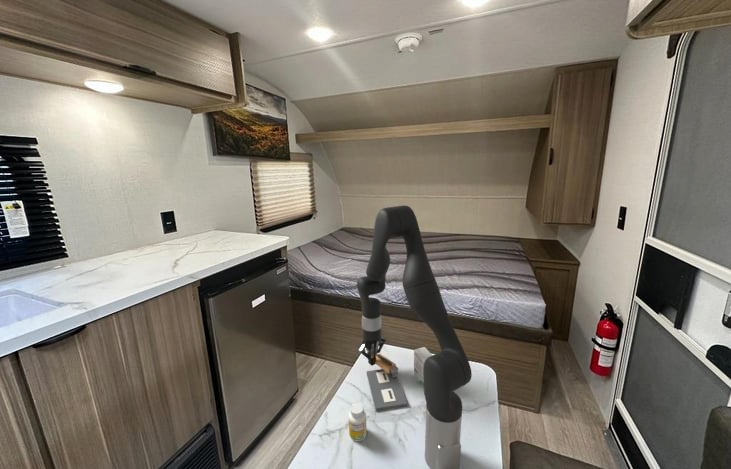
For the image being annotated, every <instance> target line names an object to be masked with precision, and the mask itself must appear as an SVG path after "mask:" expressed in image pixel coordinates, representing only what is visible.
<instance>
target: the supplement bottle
mask: <svg viewBox="0 0 731 469" xmlns="http://www.w3.org/2000/svg"><path fill="white" fill-rule="evenodd" d="M347 417H348V418H347V419H348V430H349V432H348V434H349V438H350V439H351V440H353V441H354V442H362V441H363V440H365V439H366V437H367V430H368V428H367V413H366V411H365V410H364V405H363V404H362V403H360V402H355V403H352V405H350V411H349V413H348V416H347Z"/></svg>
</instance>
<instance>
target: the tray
mask: <svg viewBox="0 0 731 469" xmlns="http://www.w3.org/2000/svg"><path fill="white" fill-rule="evenodd" d="M366 376H367V377H366V378H367V381H368V385H369V389H370V393H371V397H372V398H371V399H372V402H373V407H374V410H375V412H380V411H386V410H391V409H392V410H393V409H399V408H405V407H408V402H407V399H406V396H405V395H404V391H403V389H402V387H401V383H400V381H399V378H398V374H397V375H392V374H391V373H389V374H388V373H387V372H386V371H384V370H383V369H382V368H378V369H373V370H367V371H366Z"/></svg>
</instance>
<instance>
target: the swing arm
mask: <svg viewBox="0 0 731 469" xmlns="http://www.w3.org/2000/svg"><path fill="white" fill-rule="evenodd" d="M375 365H376V366H378V367H379V369H383V370H384V371H386V372H387V373H388V374H389V373H391V374H392V375H397V376H398V375H399V374H398V373H399V371H398V370H399V368H398V366H397V364H396V363H395V362H393V361H392V360H391V359H389V358H387V357H386V356H384V355H383V354H381V353H377V356H376V362H375Z"/></svg>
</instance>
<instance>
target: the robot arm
mask: <svg viewBox="0 0 731 469" xmlns="http://www.w3.org/2000/svg"><path fill="white" fill-rule="evenodd" d="M376 214H377V215H376V217H375V220H374V227H373V235H372V236H373V237H372V244H371V246H372V248H371V253H370V257H369V260H368V264H367V267H366V270H365V274H366V276H361V277H359V278H358V279H357V281H356V289H357V291H358V294H359V298H360V303H361V315H362V316H361V335H362V345H361V346H360V347H358V348H357V351H358V352H359V353H360V354H361V355H363V356H364V357H365V358H366V359H367V360H368V364H369V365H370V366H372V367H373V366H374V365H376V364H375V362H376V356H377V354H381V351H382V349H383V347H384V345H385V343H386V338H384V337H383V335H382V332H383V331H382V314H381V313H382V312H381V310H382V308H381V306H382V305H381V301H380V299H378V298H376V297H371V296H373V295H377V294H382V293H383V292H384V290H385V289H386V287H387V286H386V284H387V283H386V275H387V273H388V270H389V268H390V265H391V256H390V254H389V251H388V249H387V244H388V242H389V241H390V239H391V240H392V239H397V238H402V239H403V241H404V244H405V248H406V249H405V250H406V261H405V265H404V269H403V274H402V287H403V290H404V294H405V296H406V300H407V304H408V306H409V308H410V309H411V311H412V312H413V313H414V314H415V315H416V316H417V317H418V318H419V319H420V320H421V321H422V323H424V324H425V325H427V326H428V328H429V329H431V331H432V332H433V334H434V336H435V337H436V339H437V340H436V341H437V342H438V344H439V347H440V350H441V351H440V352H438V353H435V354H432V355H433V356H430V357H428V358H427V359H426V360H425V362H424V367H423V378H424V388H423V392H424V393H423V395H424V400H425V404H426V405H425V428H424V429H425V431H424V432H425V435H424V438H425V439H424V458H425V462H426V464H427V466H428V467H429V468H430V469H460V467H461V466H460V465H461V453H462V444H461V436H462V435H461V434H462V432H461V431H462V418H463V417H462V415H463V402H462V399H461V398H460V396H459V395H458V393H456V392H455V391H456V390H458V389H460V388H463V387H464V386H466V385H468V384H469V383H470V382H471V379H472V377H473V376H472V375H473V374H472V373H473V372H472V368H471V364H470V362H469V358H468V356H467V355H466V352H465V349H464V348H463V345H462V344H461V341H460V339H459V337H458V335H457V333H456V330H455V329H454V326H453V324H452V322H451V319H450V315H449V314H448V311H447V308H446V306H445V303H444V300H443V297H442V294H441V291H440V288H439V285H438V283H437V280H436V277H435V274H434V273H433V270H432V267H431V264H430V262H429V259H428V255H427V252H426V248H425V246H424V242H423V238H422V235H421V230H420V226H419V222H418V220H417V216H416V214H415V211H414V210H413V208H412V207H410V206H409V205H397V206H391V207H390V206H388V207H383V208H381V209H380V210H378V212H377V213H376Z"/></svg>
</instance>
